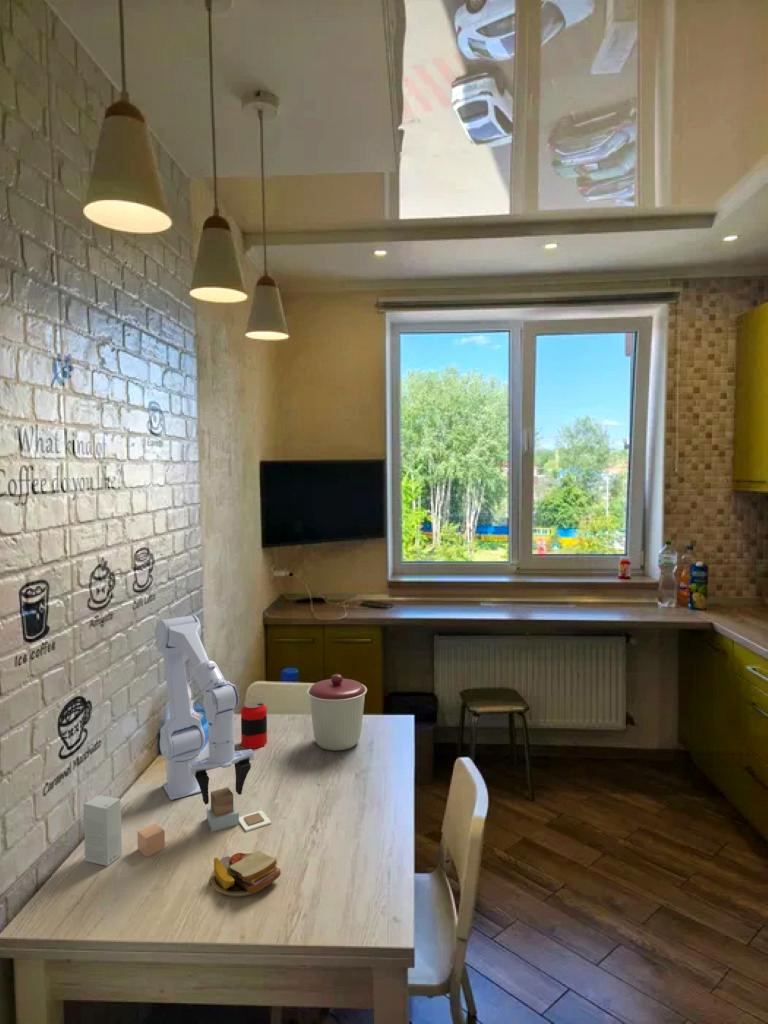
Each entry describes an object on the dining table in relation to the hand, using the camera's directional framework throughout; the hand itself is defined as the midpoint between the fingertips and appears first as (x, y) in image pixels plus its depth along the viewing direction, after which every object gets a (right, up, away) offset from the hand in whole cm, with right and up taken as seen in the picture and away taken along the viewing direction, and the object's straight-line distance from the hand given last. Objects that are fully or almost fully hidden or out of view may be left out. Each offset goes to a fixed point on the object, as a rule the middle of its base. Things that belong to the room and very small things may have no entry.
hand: (222, 797), depth 135 cm
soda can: (-2, -5, +43) cm, 43 cm away
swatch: (+7, -6, 0) cm, 9 cm away
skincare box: (-21, -6, -13) cm, 26 cm away
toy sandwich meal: (+10, -7, -20) cm, 23 cm away
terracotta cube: (-12, -6, -10) cm, 17 cm away
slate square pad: (0, -6, 0) cm, 6 cm away
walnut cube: (0, -3, 0) cm, 3 cm away
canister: (+23, -5, +42) cm, 48 cm away
